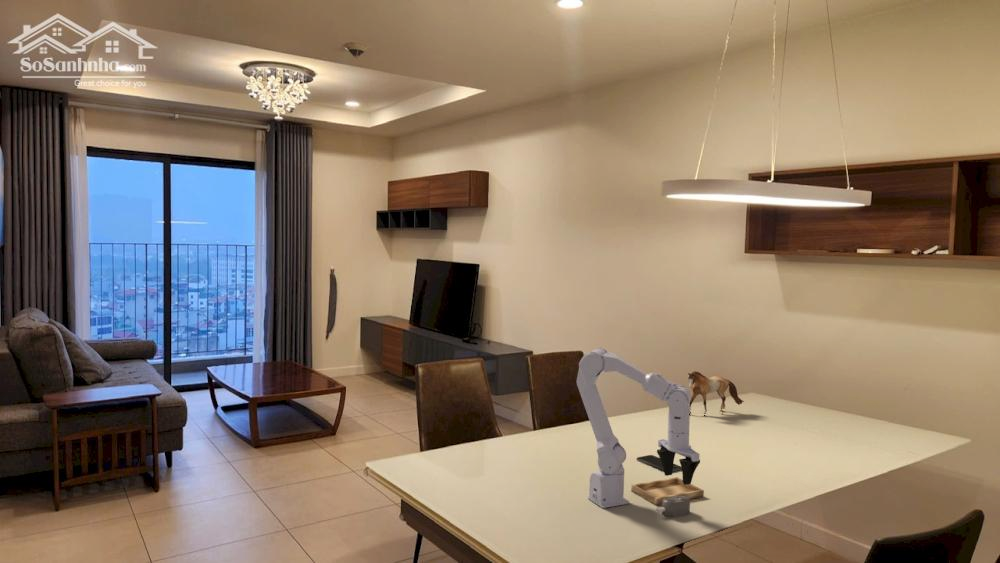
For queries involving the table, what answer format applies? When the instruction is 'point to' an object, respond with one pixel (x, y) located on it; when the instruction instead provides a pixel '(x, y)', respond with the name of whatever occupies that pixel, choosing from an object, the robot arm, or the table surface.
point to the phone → (656, 463)
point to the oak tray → (666, 490)
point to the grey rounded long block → (675, 506)
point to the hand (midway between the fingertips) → (677, 479)
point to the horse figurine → (711, 388)
